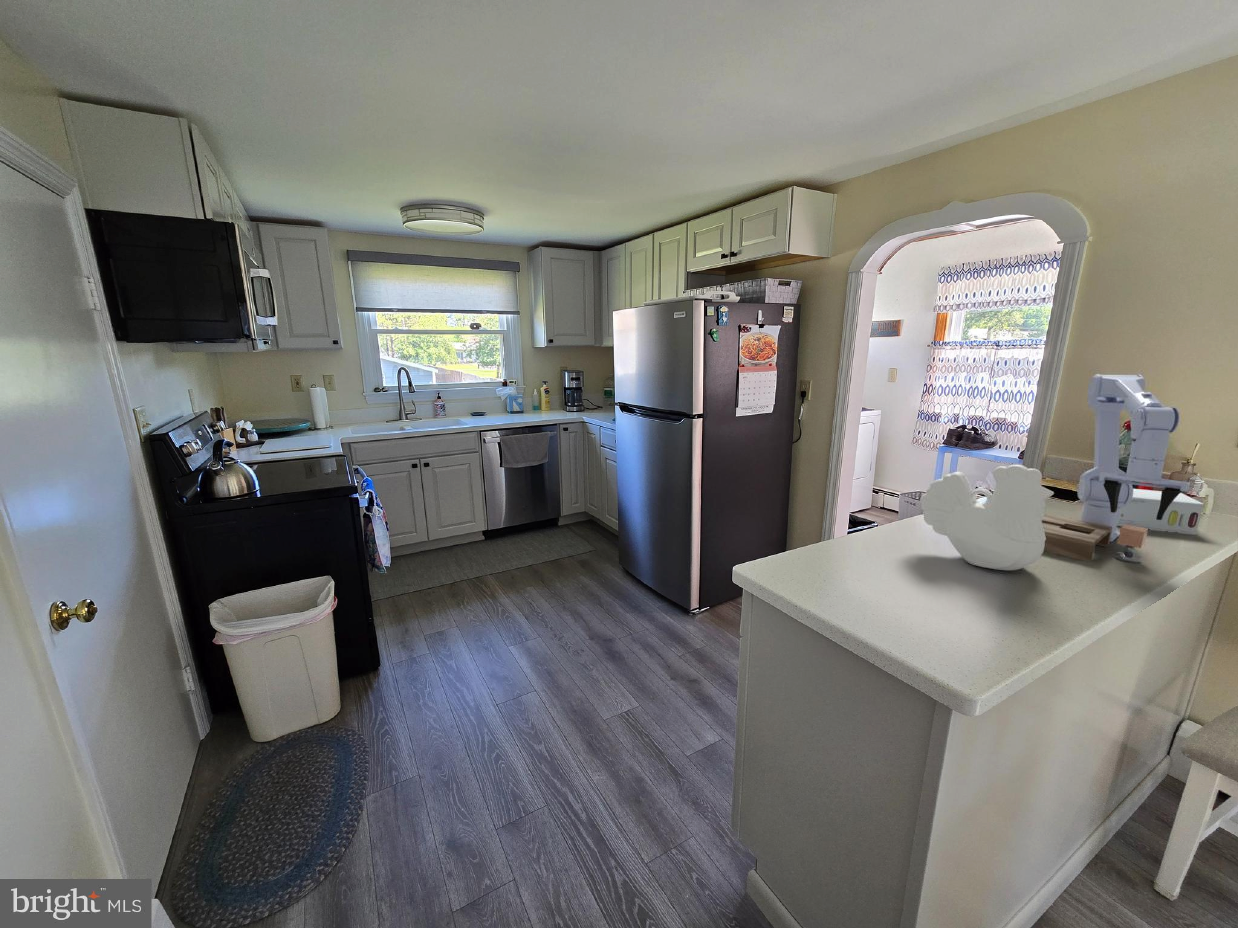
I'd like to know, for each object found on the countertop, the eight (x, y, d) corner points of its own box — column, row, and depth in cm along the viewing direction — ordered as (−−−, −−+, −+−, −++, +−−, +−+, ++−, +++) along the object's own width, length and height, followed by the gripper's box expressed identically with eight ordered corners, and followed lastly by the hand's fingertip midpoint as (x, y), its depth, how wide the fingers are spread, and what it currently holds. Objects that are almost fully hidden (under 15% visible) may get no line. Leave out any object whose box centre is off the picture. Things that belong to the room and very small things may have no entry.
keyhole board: (1032, 528, 143) (1035, 511, 142) (1108, 544, 130) (1112, 526, 129) (1009, 542, 133) (1012, 524, 132) (1089, 561, 120) (1093, 541, 119)
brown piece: (1117, 554, 124) (1123, 523, 122) (1142, 560, 120) (1149, 528, 119) (1112, 558, 121) (1119, 527, 120) (1138, 564, 118) (1145, 532, 116)
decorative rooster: (1052, 570, 115) (1072, 465, 110) (1018, 585, 108) (1038, 474, 102) (940, 537, 136) (952, 448, 131) (905, 548, 129) (916, 454, 124)
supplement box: (1114, 526, 144) (1121, 495, 142) (1098, 514, 156) (1104, 485, 154) (1197, 535, 137) (1205, 503, 135) (1174, 522, 148) (1181, 491, 146)
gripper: (1099, 456, 119) (1090, 511, 122) (1190, 464, 108) (1178, 525, 110) (1107, 454, 123) (1097, 507, 126) (1195, 462, 112) (1183, 520, 114)
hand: (1135, 515), depth 118 cm, fingers open, 7 cm apart
